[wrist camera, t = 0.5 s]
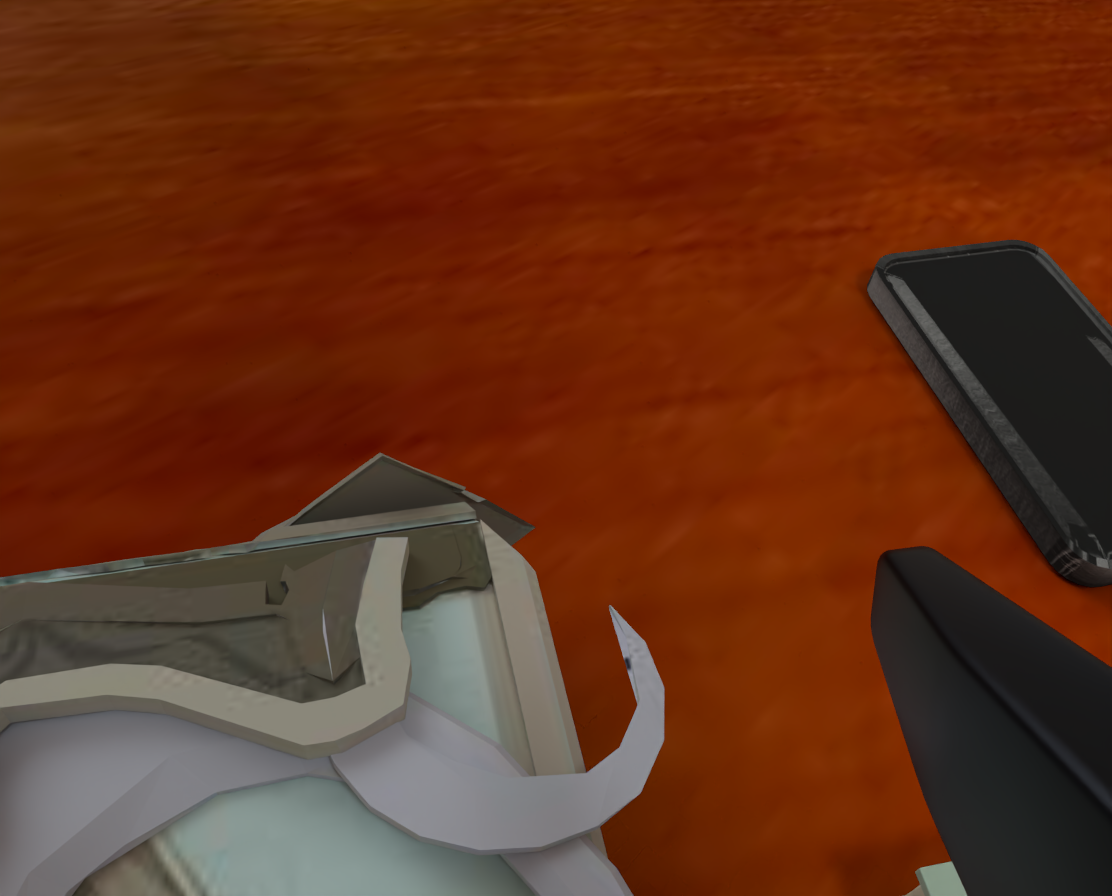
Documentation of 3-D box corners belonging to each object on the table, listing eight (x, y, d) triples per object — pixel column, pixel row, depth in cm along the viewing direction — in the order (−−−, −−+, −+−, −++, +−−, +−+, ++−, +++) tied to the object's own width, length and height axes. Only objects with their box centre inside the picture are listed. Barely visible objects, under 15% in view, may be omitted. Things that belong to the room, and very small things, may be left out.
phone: (1087, 575, 29) (866, 256, 37) (1069, 593, 29) (857, 277, 38) (1294, 531, 30) (1035, 236, 39) (1270, 550, 31) (1023, 257, 40)
